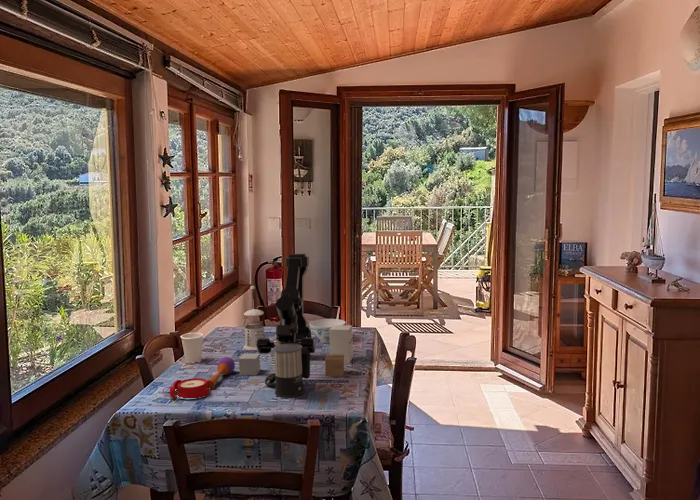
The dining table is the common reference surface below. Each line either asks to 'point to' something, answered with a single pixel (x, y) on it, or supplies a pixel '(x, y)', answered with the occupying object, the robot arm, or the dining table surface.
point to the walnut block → (334, 365)
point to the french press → (253, 328)
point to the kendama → (222, 370)
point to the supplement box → (342, 341)
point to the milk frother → (289, 369)
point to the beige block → (249, 364)
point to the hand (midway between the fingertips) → (283, 368)
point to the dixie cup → (192, 346)
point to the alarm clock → (190, 388)
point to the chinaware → (324, 328)
